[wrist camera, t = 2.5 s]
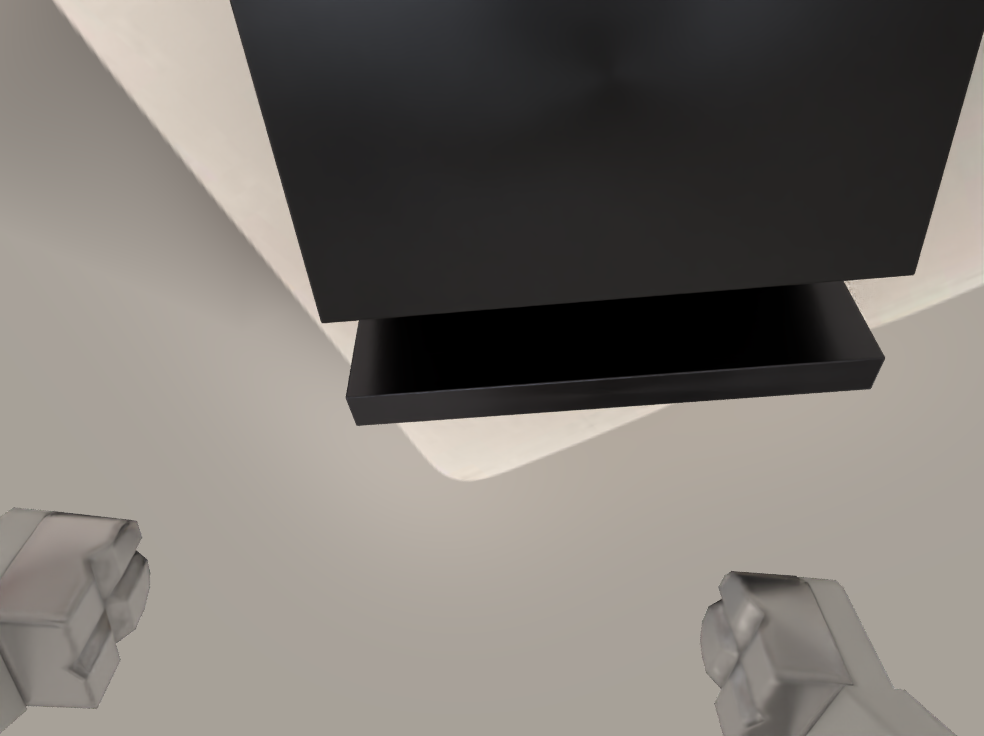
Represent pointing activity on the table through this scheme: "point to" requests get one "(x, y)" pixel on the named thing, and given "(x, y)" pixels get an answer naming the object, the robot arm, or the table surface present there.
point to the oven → (603, 143)
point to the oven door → (612, 354)
